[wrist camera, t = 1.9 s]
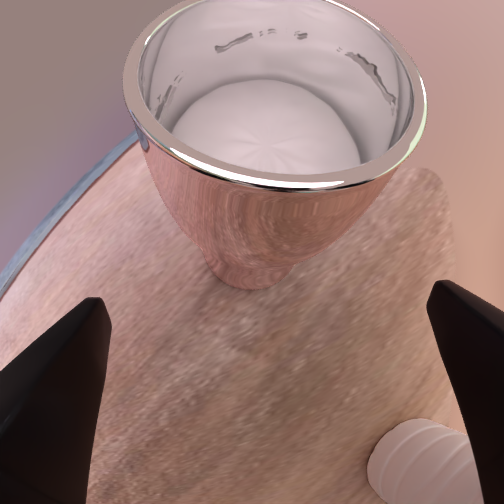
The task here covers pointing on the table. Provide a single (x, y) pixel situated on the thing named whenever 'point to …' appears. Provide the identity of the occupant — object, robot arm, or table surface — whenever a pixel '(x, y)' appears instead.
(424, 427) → the water bottle
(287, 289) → the table surface
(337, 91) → the silver metal tumbler
